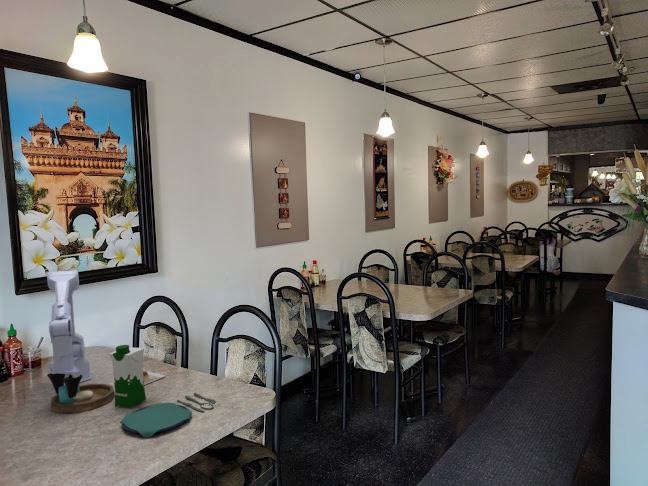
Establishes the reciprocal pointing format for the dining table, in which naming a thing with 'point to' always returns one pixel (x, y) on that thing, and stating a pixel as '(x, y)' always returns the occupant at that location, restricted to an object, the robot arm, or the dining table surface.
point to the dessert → (146, 373)
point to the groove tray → (86, 405)
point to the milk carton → (128, 376)
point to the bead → (64, 396)
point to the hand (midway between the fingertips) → (66, 394)
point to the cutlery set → (160, 416)
